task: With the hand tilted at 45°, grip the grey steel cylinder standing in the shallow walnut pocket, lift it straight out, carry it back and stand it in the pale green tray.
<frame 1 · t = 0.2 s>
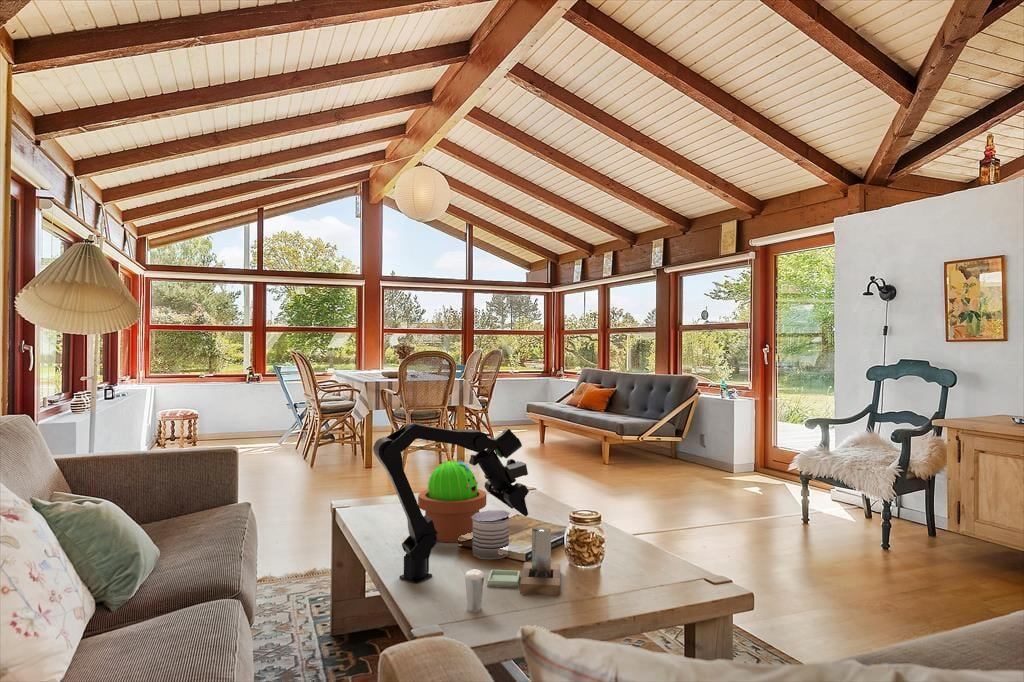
hand: (519, 511, 183), 15 cm above the table, tool tilted 35°, fingers open, 9 cm apart
tray: (503, 581, 168), on the table
potted cactus: (452, 535, 208), on the table
steel cylinder: (541, 556, 167), in the pocket block
can: (490, 554, 191), on the table
milkshake: (472, 610, 150), on the table
pocket block: (541, 582, 167), on the table
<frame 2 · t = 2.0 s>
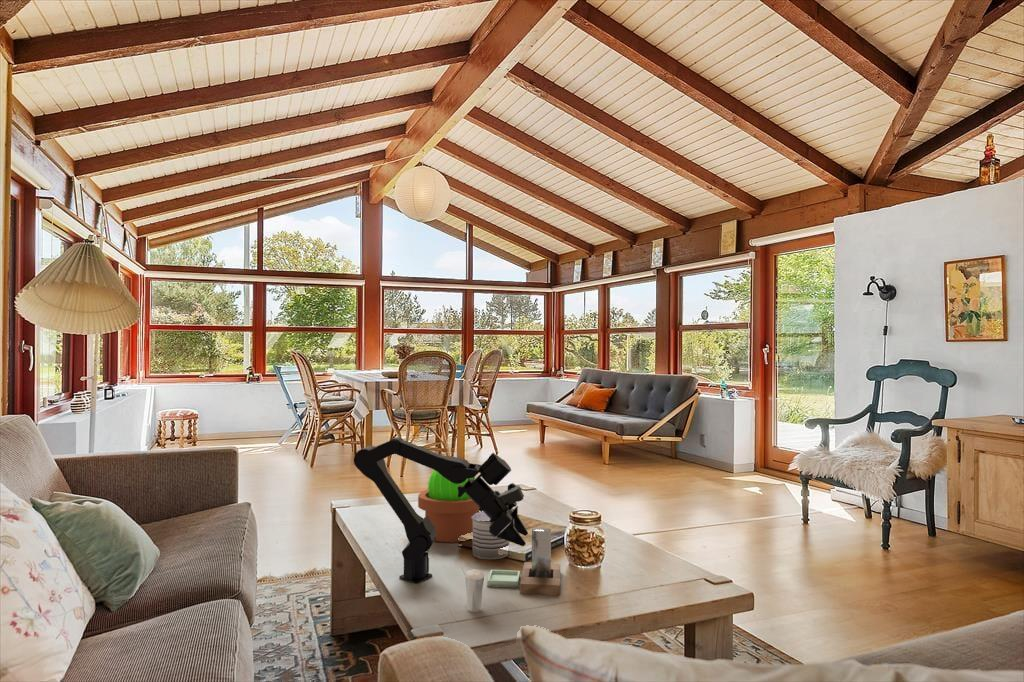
hand: (525, 539, 168), 11 cm above the table, tool tilted 45°, fingers open, 9 cm apart
nothing on the table moved.
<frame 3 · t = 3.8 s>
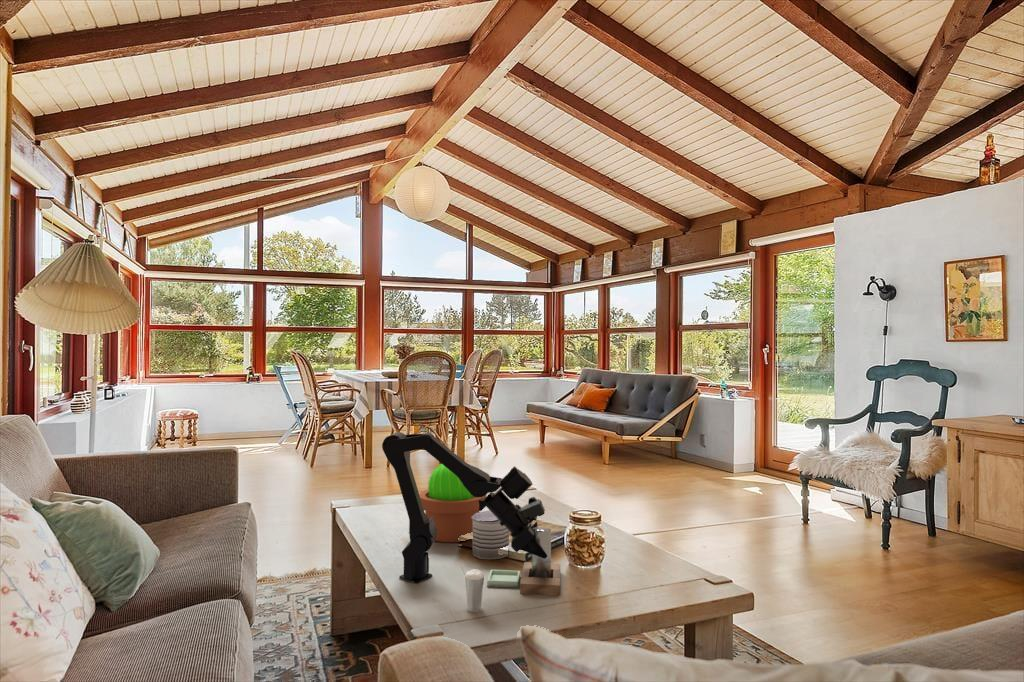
hand: (546, 554, 167), 8 cm above the table, tool tilted 45°, fingers closed on steel cylinder, 5 cm apart
steel cylinder: (541, 556, 167), in the pocket block, touching gripper
everything else where it was.
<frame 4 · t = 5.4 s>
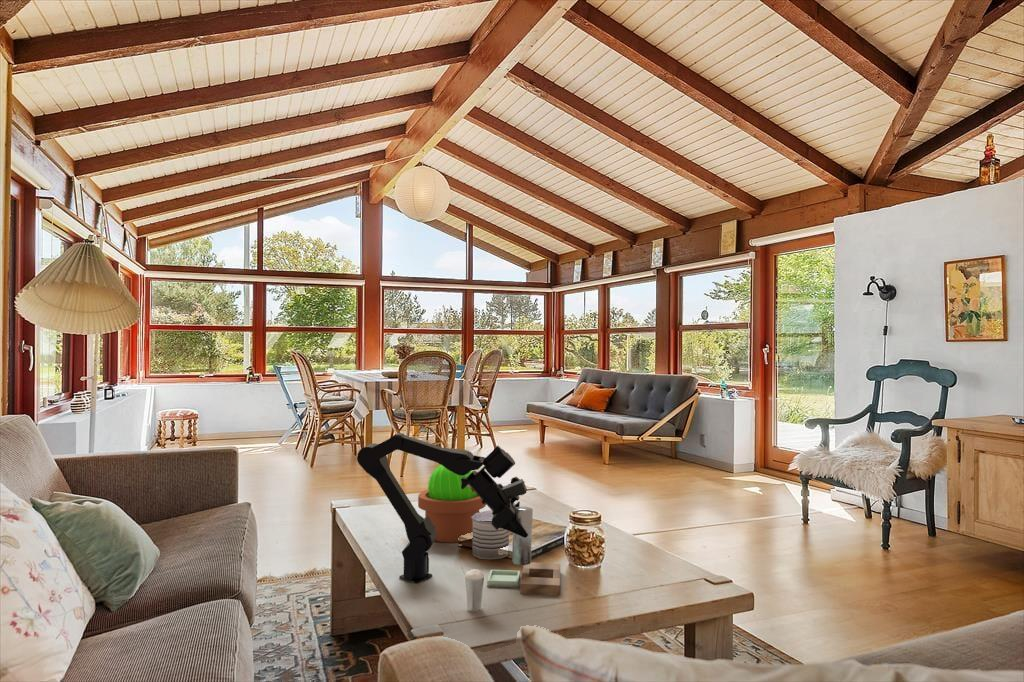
hand: (527, 533, 168), 13 cm above the table, tool tilted 45°, fingers closed on steel cylinder, 5 cm apart
steel cylinder: (522, 535, 168), point 12 cm above the table, touching gripper
everything else where it was.
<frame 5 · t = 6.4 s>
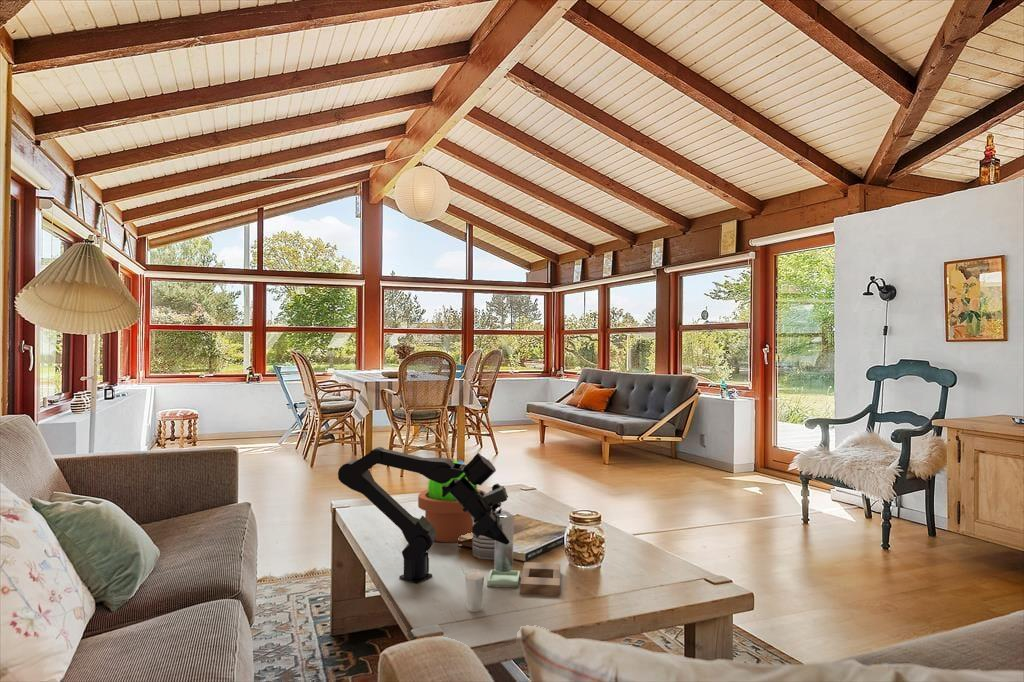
hand: (509, 540, 168), 11 cm above the table, tool tilted 45°, fingers closed on steel cylinder, 5 cm apart
steel cylinder: (503, 542, 168), point 10 cm above the table, touching gripper
everything else where it was.
when the fingers open (9 cm above the table, at t = 7.2 s): steel cylinder stays where it is, resting on tray.
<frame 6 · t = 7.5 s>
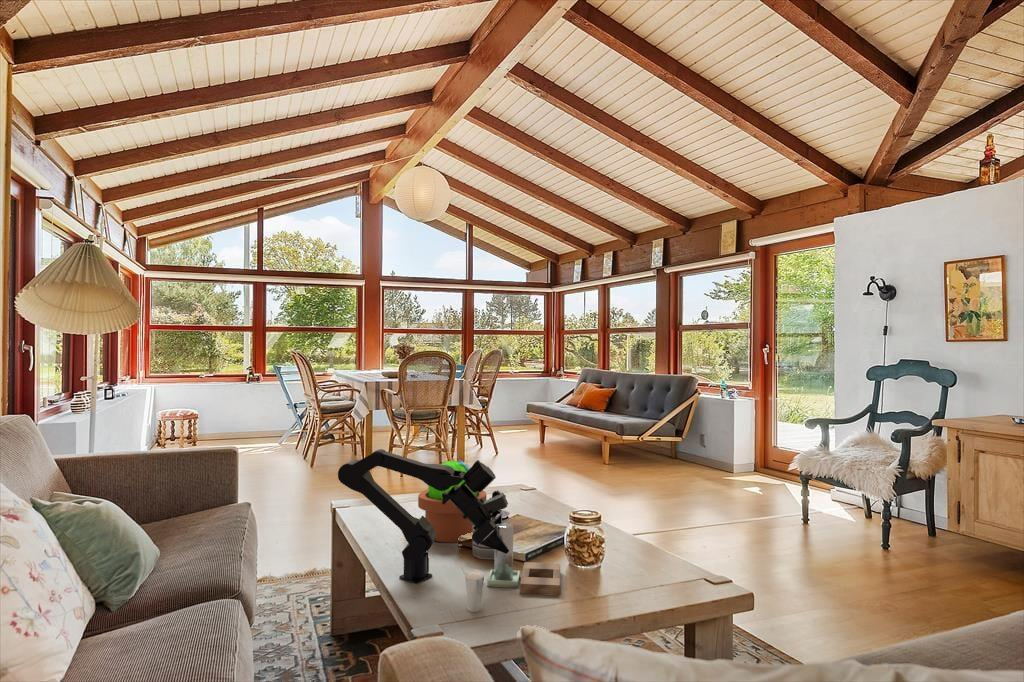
hand: (509, 547, 168), 9 cm above the table, tool tilted 45°, fingers open, 8 cm apart
steel cylinder: (503, 552, 168), point 8 cm above the table, touching tray
everything else where it was.
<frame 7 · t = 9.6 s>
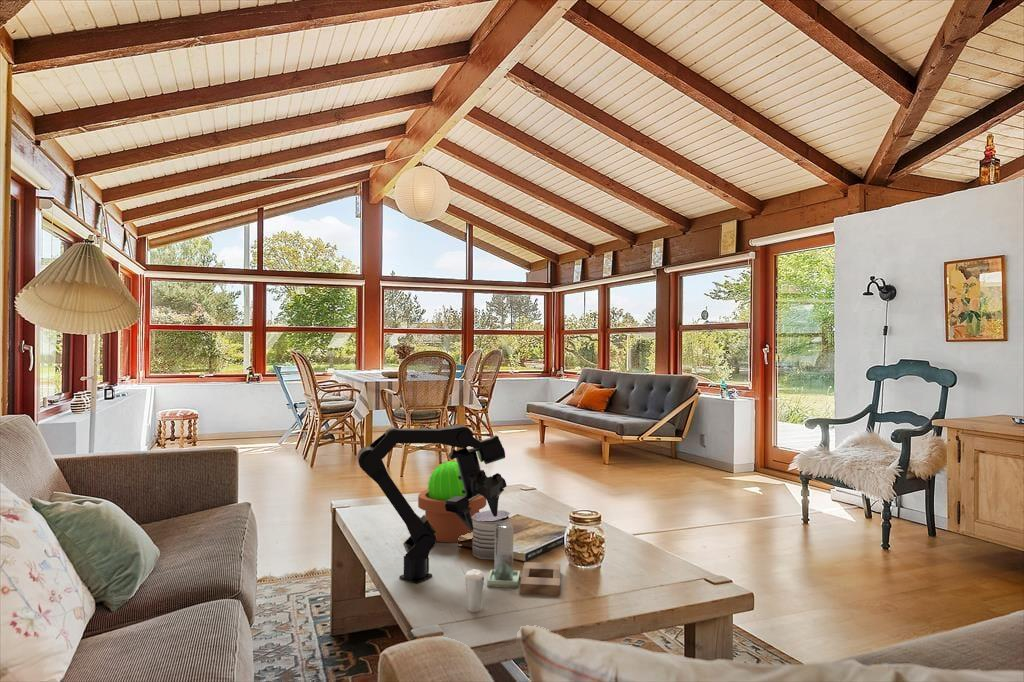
hand: (483, 523, 175), 13 cm above the table, tool tilted 15°, fingers open, 9 cm apart
nothing on the table moved.
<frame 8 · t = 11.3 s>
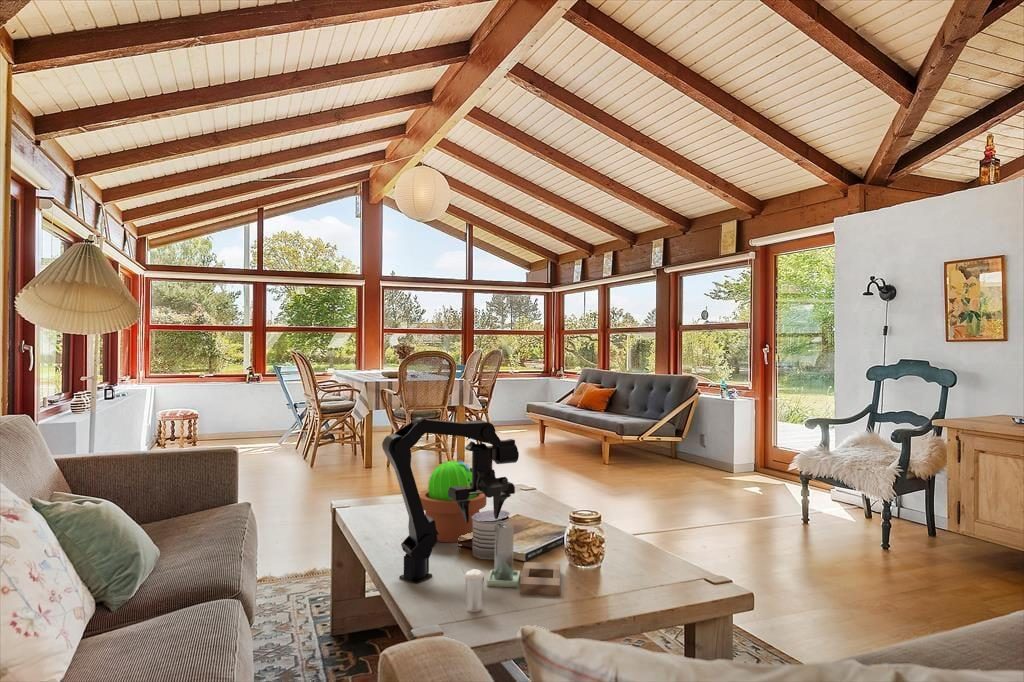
hand: (481, 520, 179), 13 cm above the table, tool pointing down, fingers open, 9 cm apart
nothing on the table moved.
at the end: steel cylinder 0.1 cm off-centre on the tray, point 7.6 cm above the tray's base; steel cylinder tilted 0°; steel cylinder touching tray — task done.
